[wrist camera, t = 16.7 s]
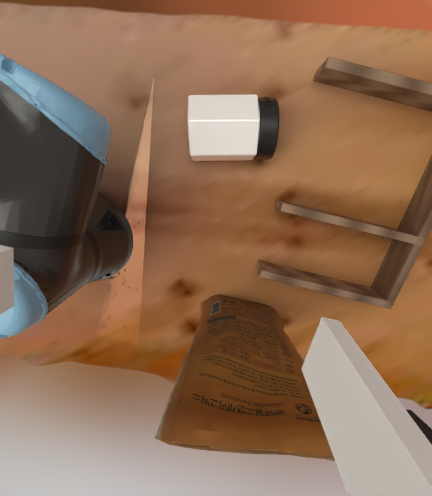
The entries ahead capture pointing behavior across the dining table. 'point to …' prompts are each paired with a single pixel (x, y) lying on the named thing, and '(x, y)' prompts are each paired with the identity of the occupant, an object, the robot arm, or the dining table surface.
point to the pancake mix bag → (243, 387)
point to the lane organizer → (404, 239)
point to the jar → (232, 127)
